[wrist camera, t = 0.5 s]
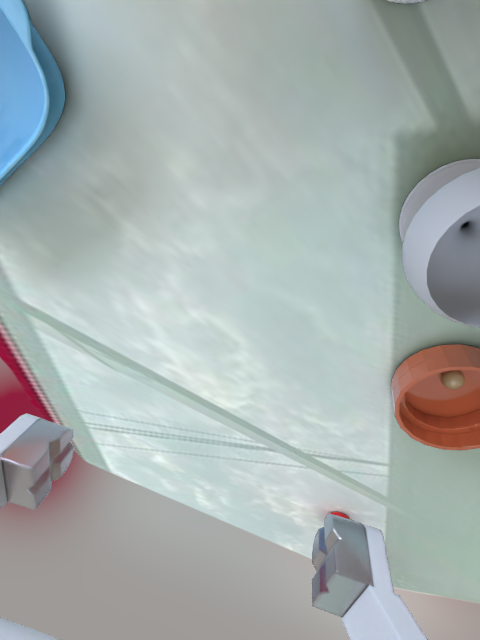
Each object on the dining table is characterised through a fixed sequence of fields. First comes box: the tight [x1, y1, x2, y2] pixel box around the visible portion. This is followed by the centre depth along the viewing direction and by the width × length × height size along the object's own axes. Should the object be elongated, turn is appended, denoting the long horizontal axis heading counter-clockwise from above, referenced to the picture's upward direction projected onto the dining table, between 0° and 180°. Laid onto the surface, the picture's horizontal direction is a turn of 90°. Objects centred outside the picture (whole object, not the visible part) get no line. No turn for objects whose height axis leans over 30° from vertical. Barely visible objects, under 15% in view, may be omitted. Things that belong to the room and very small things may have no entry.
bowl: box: [391, 344, 480, 450], centre depth 49 cm, size 15×15×6 cm
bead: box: [440, 370, 465, 390], centre depth 48 cm, size 3×3×3 cm
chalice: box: [399, 159, 480, 327], centre depth 33 cm, size 14×14×15 cm
